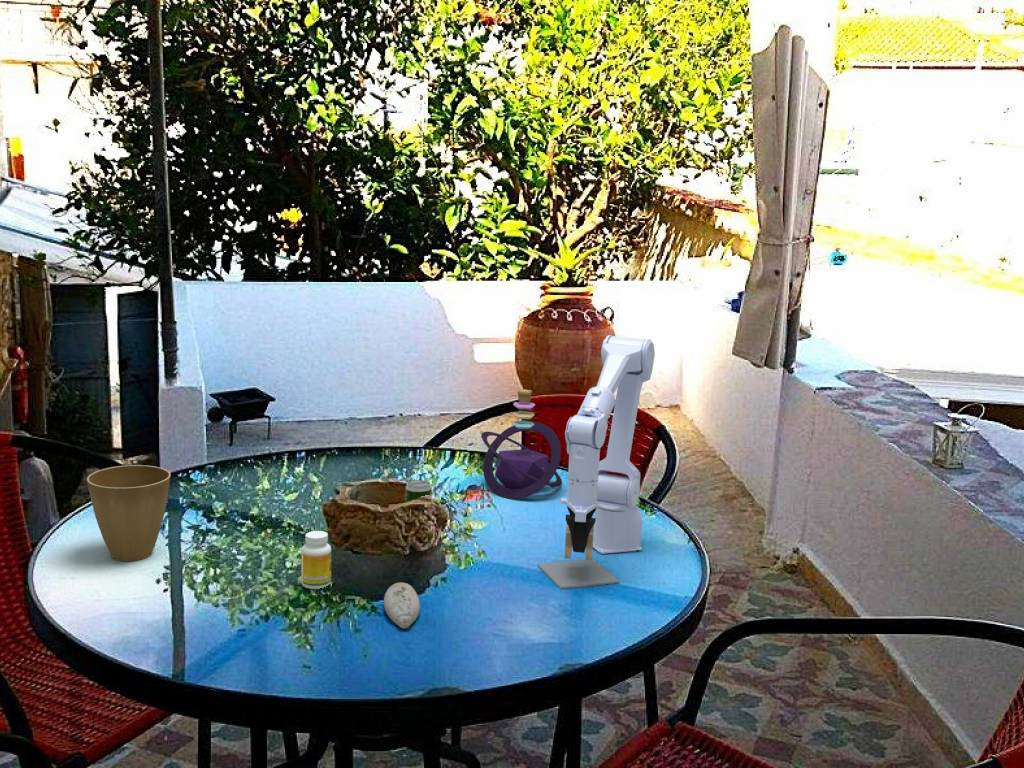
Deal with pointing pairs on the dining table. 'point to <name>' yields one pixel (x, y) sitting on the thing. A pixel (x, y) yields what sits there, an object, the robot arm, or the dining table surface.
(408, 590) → the decorative stone
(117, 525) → the plant pot
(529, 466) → the decorative bottle
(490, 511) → the dining table surface
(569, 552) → the wooden u-frame
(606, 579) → the slate mat
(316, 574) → the supplement bottle
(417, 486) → the beer can
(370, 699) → the dining table surface
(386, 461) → the dining table surface
